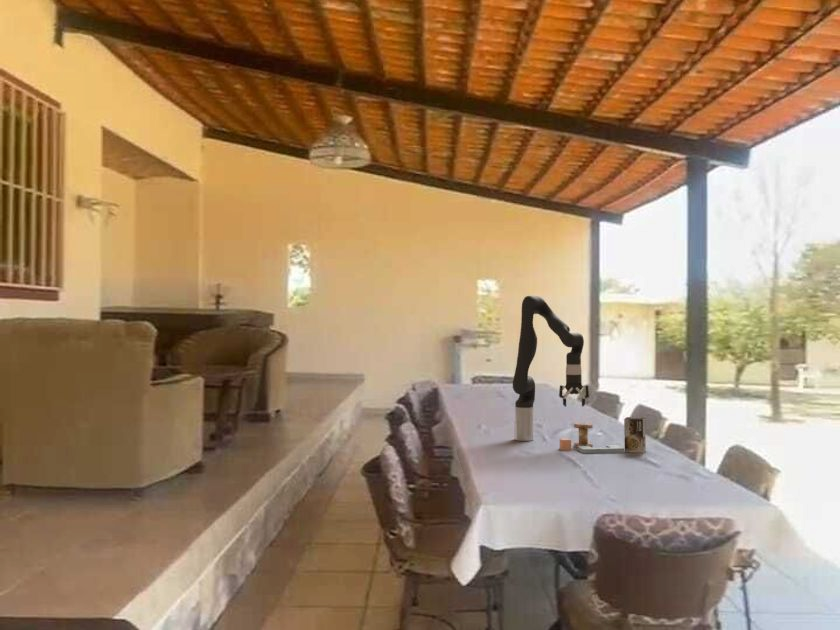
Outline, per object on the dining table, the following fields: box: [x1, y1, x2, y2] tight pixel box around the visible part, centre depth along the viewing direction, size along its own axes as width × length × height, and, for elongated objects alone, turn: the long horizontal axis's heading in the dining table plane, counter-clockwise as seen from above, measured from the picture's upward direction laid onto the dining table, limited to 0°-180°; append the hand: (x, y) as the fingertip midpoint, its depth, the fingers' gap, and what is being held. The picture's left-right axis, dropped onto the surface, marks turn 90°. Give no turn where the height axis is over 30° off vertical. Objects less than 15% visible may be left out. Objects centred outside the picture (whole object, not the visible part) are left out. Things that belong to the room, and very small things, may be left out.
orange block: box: [559, 438, 572, 451], centre depth 424 cm, size 4×4×5 cm
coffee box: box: [623, 416, 647, 454], centre depth 416 cm, size 9×6×16 cm
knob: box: [573, 422, 594, 448], centre depth 432 cm, size 9×9×11 cm
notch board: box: [576, 444, 625, 454], centre depth 418 cm, size 20×10×2 cm, turn 96°
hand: (574, 406), depth 430 cm, fingers open, 8 cm apart
